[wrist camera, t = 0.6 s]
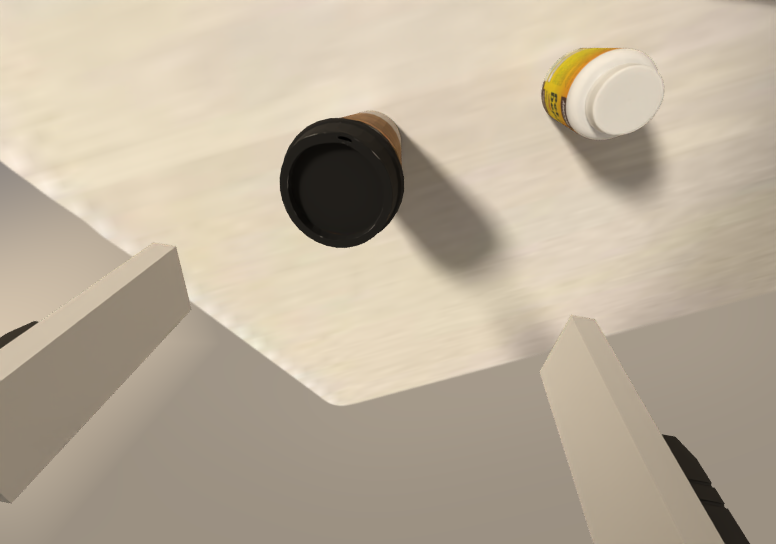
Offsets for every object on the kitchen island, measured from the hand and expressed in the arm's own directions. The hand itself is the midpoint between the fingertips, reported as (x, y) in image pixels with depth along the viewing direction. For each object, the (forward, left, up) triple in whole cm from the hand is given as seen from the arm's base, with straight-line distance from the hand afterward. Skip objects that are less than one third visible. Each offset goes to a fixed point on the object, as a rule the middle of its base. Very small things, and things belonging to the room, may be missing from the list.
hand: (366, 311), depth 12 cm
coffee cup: (+1, -4, -26) cm, 27 cm away
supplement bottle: (-6, +13, -26) cm, 30 cm away
